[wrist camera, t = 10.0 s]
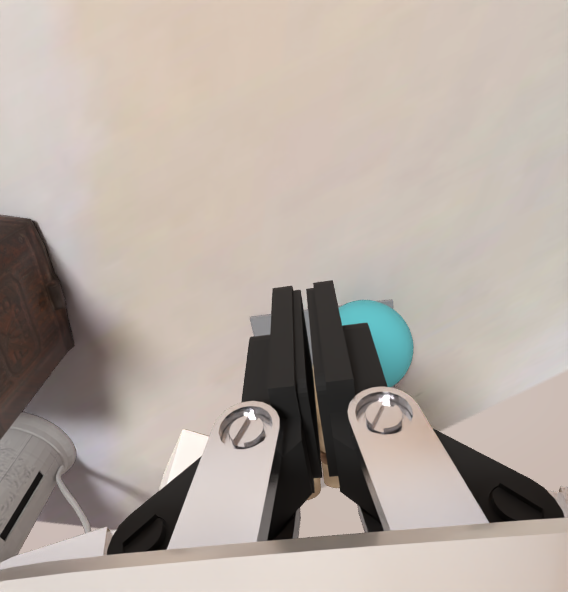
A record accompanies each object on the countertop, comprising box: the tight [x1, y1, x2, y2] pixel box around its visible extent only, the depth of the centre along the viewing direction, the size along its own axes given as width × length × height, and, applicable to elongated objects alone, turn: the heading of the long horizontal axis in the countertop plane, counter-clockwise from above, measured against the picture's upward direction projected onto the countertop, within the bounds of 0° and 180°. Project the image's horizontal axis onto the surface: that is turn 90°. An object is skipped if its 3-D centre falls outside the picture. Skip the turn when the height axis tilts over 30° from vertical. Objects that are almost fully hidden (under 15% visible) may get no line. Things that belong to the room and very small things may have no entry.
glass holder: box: [0, 412, 91, 563], centre depth 30 cm, size 9×14×15 cm, turn 83°
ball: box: [339, 300, 413, 387], centre depth 26 cm, size 6×6×6 cm
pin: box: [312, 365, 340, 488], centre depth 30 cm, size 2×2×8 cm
